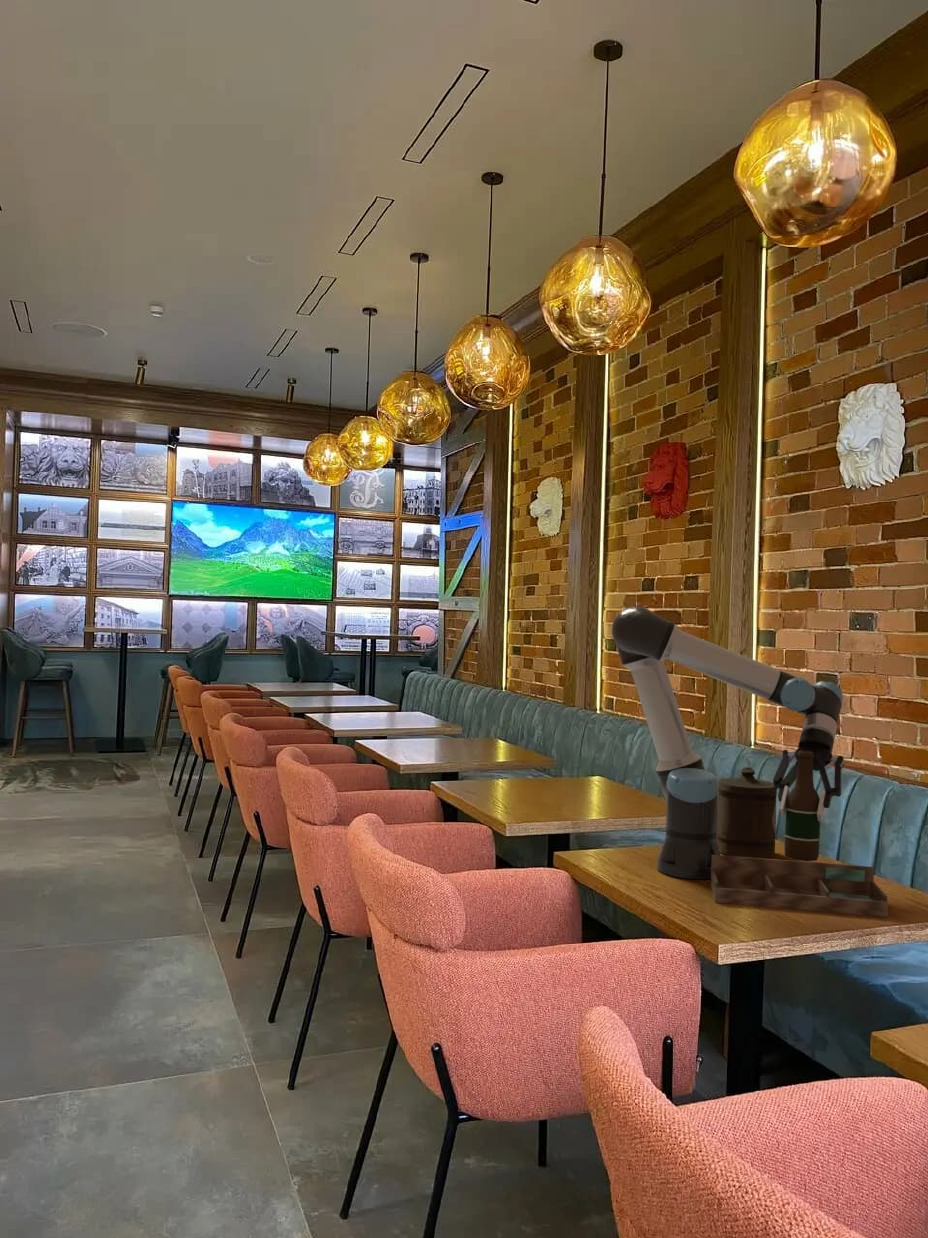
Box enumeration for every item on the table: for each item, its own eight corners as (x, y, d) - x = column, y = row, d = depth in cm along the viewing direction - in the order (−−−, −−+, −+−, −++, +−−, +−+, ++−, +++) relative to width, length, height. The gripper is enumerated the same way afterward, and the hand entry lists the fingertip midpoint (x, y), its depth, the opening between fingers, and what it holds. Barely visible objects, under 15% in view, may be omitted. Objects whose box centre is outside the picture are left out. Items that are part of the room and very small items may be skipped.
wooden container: (787, 857, 238) (790, 771, 239) (740, 861, 233) (742, 772, 233) (749, 844, 252) (751, 762, 252) (703, 847, 247) (706, 764, 247)
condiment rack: (714, 902, 196) (715, 869, 196) (710, 886, 209) (711, 854, 209) (887, 917, 189) (888, 882, 190) (872, 899, 202) (873, 867, 202)
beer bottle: (778, 852, 216) (783, 748, 216) (812, 853, 216) (817, 750, 216) (789, 860, 209) (794, 753, 209) (824, 862, 208) (829, 754, 208)
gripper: (864, 751, 220) (850, 832, 206) (776, 742, 231) (756, 818, 217) (862, 731, 216) (847, 811, 202) (772, 722, 226) (752, 798, 212)
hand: (800, 815), depth 209 cm, fingers closed on beer bottle, 7 cm apart
